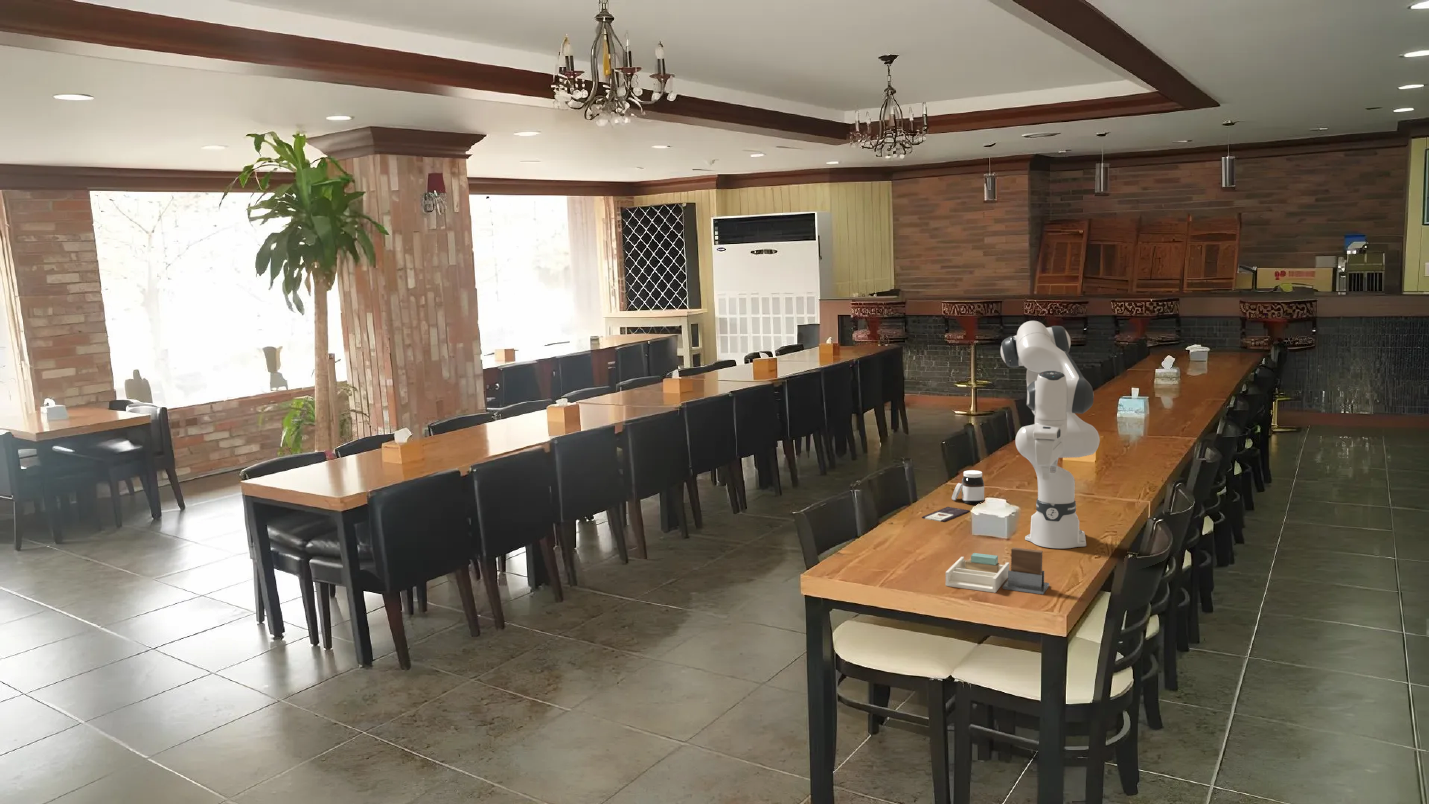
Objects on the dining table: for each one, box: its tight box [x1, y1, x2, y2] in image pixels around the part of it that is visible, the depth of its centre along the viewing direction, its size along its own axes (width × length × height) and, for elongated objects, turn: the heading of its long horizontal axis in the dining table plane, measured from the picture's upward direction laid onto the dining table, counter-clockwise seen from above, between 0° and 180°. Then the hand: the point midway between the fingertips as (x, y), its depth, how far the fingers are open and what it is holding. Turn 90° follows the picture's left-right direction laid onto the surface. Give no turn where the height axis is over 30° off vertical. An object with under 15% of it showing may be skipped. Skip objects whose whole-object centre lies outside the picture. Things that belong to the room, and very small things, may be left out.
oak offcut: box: [966, 558, 1000, 573], centre depth 281 cm, size 3×9×3 cm, turn 60°
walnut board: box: [1010, 547, 1043, 586], centre depth 270 cm, size 2×8×10 cm, turn 60°
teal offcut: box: [970, 552, 999, 565], centre depth 281 cm, size 3×7×2 cm, turn 60°
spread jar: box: [951, 469, 985, 505], centre depth 366 cm, size 12×11×12 cm
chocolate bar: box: [921, 506, 970, 523], centre depth 349 cm, size 9×1×18 cm
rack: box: [945, 556, 1010, 594], centre depth 277 cm, size 16×14×4 cm
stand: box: [1002, 569, 1050, 595], centre depth 270 cm, size 8×11×5 cm
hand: (1049, 475), depth 278 cm, fingers open, 8 cm apart
